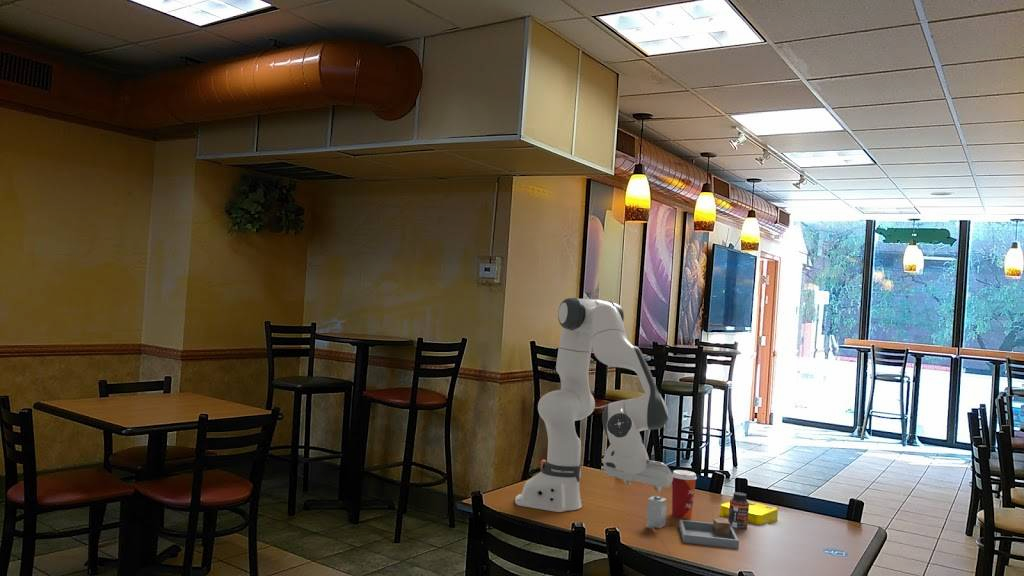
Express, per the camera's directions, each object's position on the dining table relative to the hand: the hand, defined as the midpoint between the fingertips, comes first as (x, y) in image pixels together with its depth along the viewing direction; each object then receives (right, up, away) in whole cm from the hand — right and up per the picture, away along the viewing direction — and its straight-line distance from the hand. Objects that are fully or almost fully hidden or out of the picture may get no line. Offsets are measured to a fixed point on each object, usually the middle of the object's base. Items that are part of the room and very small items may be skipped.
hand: (643, 486), depth 221 cm
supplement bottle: (+32, -18, +14) cm, 40 cm away
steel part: (+6, -16, +10) cm, 19 cm away
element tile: (+40, -19, +28) cm, 53 cm away
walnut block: (+25, -16, +5) cm, 30 cm away
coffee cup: (+17, -17, +23) cm, 33 cm away
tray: (+19, -16, +1) cm, 25 cm away
